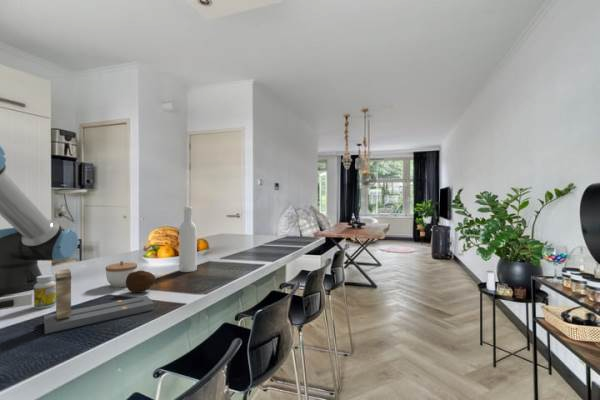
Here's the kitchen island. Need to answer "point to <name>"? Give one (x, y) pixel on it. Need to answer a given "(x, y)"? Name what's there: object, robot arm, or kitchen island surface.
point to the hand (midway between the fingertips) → (31, 298)
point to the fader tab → (63, 293)
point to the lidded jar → (119, 273)
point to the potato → (140, 281)
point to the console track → (98, 313)
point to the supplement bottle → (44, 292)
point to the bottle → (187, 243)
